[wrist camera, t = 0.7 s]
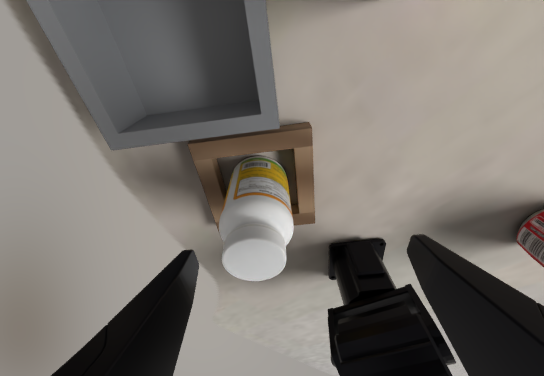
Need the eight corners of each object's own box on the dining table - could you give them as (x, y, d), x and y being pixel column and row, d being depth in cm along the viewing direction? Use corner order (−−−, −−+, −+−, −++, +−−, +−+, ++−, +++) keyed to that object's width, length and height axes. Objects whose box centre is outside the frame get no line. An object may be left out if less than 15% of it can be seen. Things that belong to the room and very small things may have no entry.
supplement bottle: (259, 210, 24) (255, 297, 16) (219, 179, 22) (191, 262, 14) (298, 180, 22) (316, 262, 14) (259, 142, 20) (252, 214, 12)
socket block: (312, 213, 24) (315, 223, 23) (221, 223, 25) (219, 233, 24) (309, 122, 19) (311, 128, 18) (192, 137, 19) (187, 144, 18)
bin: (277, 107, 18) (279, 128, 14) (146, 125, 19) (111, 150, 15) (253, -102, 12) (245, -177, 8) (61, -65, 13) (-40, -116, 9)
